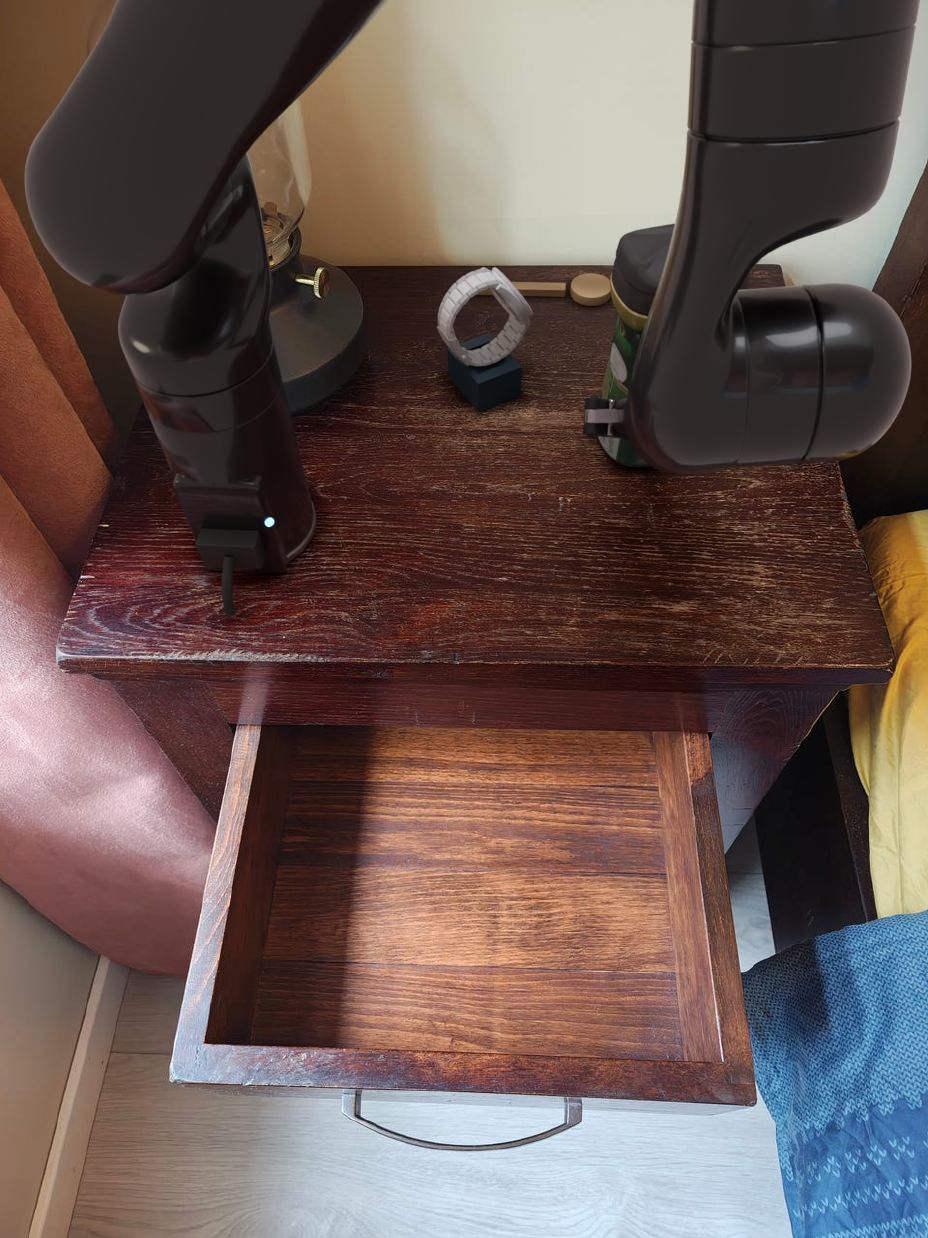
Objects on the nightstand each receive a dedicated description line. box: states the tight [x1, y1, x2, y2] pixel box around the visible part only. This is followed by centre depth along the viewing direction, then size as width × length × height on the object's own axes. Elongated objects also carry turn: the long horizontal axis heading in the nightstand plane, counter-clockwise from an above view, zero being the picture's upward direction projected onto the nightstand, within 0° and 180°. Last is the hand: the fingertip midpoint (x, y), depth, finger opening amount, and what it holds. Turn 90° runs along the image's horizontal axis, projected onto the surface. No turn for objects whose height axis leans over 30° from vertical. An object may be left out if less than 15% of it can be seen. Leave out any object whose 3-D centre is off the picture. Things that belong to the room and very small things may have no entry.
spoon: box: [475, 272, 612, 307], centre depth 89 cm, size 4×14×1 cm, turn 86°
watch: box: [436, 266, 534, 413], centre depth 77 cm, size 6×8×11 cm
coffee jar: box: [597, 223, 751, 468], centre depth 70 cm, size 10×8×19 cm
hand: (658, 426), depth 70 cm, fingers closed
